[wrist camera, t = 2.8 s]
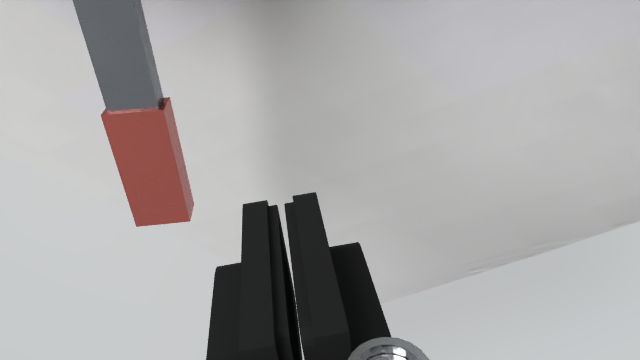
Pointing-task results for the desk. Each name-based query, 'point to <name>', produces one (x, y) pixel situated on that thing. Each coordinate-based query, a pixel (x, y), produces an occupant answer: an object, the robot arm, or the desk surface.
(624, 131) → the desk surface
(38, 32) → the desk surface
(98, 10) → the lever
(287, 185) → the desk surface
